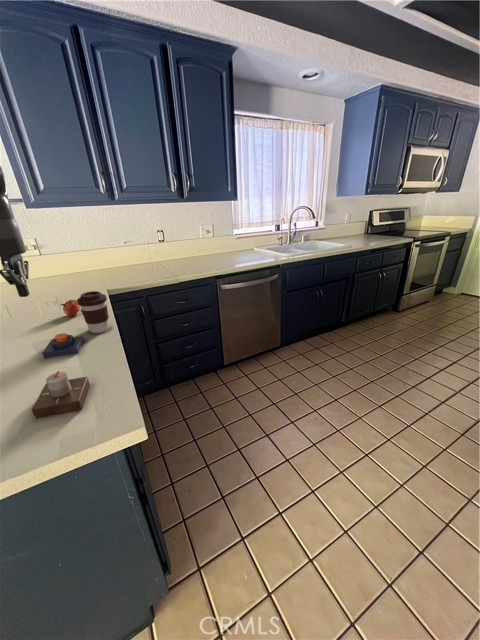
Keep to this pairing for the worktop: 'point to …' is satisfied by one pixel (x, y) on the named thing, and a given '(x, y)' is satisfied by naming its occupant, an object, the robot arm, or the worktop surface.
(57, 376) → the dial
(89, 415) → the worktop surface
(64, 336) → the button
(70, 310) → the pomegranate
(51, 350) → the button box
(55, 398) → the panel
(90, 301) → the coffee cup
